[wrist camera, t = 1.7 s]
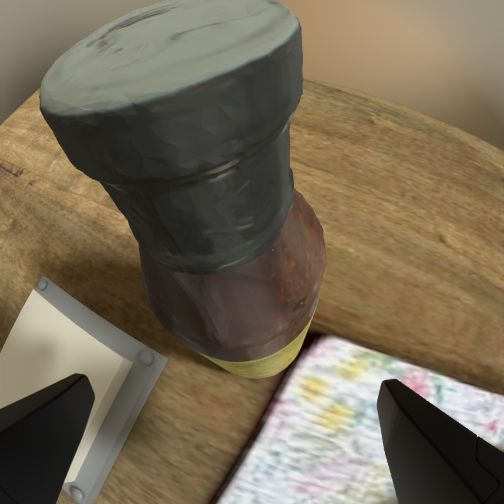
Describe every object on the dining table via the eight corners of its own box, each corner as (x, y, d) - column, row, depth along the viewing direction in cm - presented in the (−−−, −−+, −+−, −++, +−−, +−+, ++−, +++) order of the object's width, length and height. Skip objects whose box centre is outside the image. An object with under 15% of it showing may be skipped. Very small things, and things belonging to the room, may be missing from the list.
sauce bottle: (213, 296, 23) (82, 13, 5) (300, 293, 22) (321, -28, 5) (211, 385, 20) (-78, 203, 2) (305, 384, 19) (473, 126, 2)
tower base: (93, 503, 15) (72, 509, 12) (-6, 400, 19) (-28, 395, 16) (168, 358, 21) (152, 349, 18) (52, 282, 25) (33, 267, 22)
